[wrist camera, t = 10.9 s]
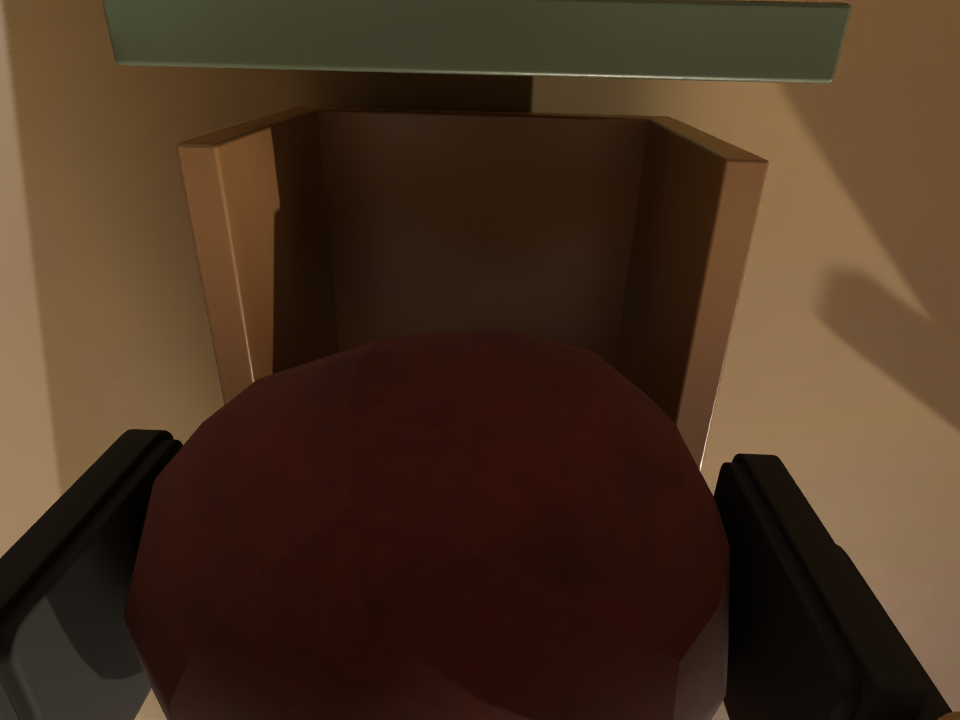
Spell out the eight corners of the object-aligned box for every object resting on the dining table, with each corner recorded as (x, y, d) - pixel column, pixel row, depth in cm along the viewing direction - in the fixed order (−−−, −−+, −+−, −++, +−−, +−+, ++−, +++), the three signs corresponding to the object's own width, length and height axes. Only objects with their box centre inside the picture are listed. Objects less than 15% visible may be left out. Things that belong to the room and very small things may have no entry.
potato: (369, 147, 9) (180, 292, 4) (776, 420, 11) (1030, 772, 6) (184, 476, 12) (-69, 819, 7) (532, 649, 14) (548, 1026, 9)
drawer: (244, -185, 16) (15, -385, 8) (740, -178, 16) (951, -377, 8) (313, 415, 24) (226, 582, 16) (640, 428, 24) (702, 604, 16)
